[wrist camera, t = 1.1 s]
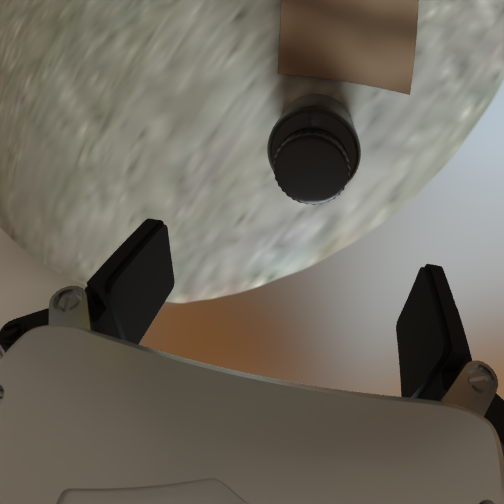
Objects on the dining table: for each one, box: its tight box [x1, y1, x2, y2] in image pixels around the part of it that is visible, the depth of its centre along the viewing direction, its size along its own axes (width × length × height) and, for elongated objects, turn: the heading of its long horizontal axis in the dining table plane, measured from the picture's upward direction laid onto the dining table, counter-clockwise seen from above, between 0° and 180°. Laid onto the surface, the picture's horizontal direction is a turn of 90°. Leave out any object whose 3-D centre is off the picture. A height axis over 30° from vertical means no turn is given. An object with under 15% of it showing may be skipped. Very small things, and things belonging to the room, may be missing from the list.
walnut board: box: [278, 0, 419, 95], centre depth 21 cm, size 14×12×1 cm
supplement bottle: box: [267, 94, 361, 205], centre depth 24 cm, size 7×7×12 cm
